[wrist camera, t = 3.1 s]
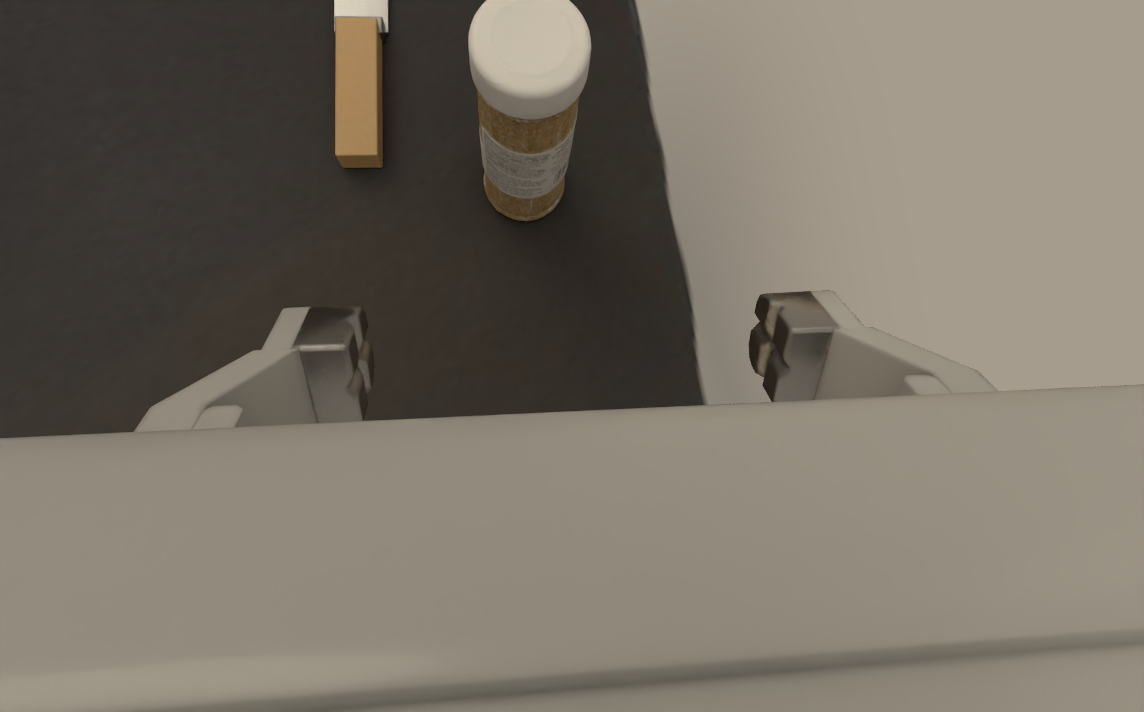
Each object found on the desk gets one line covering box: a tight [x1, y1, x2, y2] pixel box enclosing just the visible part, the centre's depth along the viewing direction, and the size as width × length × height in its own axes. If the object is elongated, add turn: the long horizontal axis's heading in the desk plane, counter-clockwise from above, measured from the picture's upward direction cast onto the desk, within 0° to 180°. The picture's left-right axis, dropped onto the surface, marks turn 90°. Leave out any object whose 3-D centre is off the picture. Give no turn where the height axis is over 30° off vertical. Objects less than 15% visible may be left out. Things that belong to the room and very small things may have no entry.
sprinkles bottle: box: [468, 0, 591, 221], centre depth 31 cm, size 5×5×13 cm
